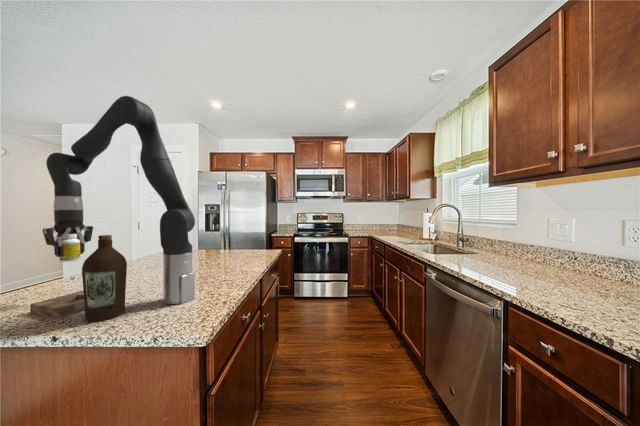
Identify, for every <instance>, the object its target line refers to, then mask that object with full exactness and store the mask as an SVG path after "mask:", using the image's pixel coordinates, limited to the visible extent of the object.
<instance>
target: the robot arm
mask: <svg viewBox="0 0 640 426" xmlns="http://www.w3.org/2000/svg"><path fill="white" fill-rule="evenodd" d="M126 124H127V125H130V126H132V127H134V128H135V129H136V132H137V134H138V136H139V138H140V142H141V151H140V155H139V161H140V165H141V168H142V171H143V173H144V175H145V177H146V179H147V181H148V183H149V184H150V185H151V187H152V188H153V190H154V192H156V193H157V194H158V196H159V197H160V198H161V200H162V201H163V203H164V206H165V208H166V211H165V212H163V213H162V215H161V217H160V221H159V235H160V236H159V238H160V247H161V248H162V250H163V251H162V253H163V263H162V264H163V266H162V269H163V270H162V271H163V276H162V277H163V280H162V281H163V283H162V285H163V303H164V304H166V305H176V304H178V305H179V304H184V303H186V302H188V301H192V300H193V299H195V298H196V289H195V288H196V283H195V282H196V281H195V280H196V274H195V272H193V245H192V244H191V242H190V240H189V232H191V231H192V230H193V229H194V227H195V224H196V220H195V218H196V217H195V216H194V213H193V211H192V210H191V208H190V206H189V204H188V202H187V200H186V199H185V196H184V194H183V191H182V188H181V186H180V183H179V180H178V178H177V176H176V172H175V169H174V167H173V164H172V162H171V158H170V157H169V156H168V152H167V149H166V146H165V144H164V143H163V140H162V137H161V134H160V130H159V127H158V122H157V119H156V116H155V113H154V111H153V109H152V108H151V107H150V106H149V105H148V104H146V103H144V102H143V101H140V100H139V99H136V98H135V97H133V96H131V95H130V96H129V95H123V96H120V97H118V98H117V99H116V100H114V102H113V103H112V104H111V106H109V108H108V109H107V110H106V111H105V113H104V114H103V115H102V116H101V117H100V118H99V120H98V121H97V122H96V124H95V125H94V126H92V128H91V129H90V130H89V131H88V132H86V133H85V134H84V135H82V137H80V138H79V139H78V140H76V141H75V142H74V143H73V144H72V145H71V146H70V150H71V152H72V153H73V154H74V155H72V154H66V153H62V152H53V153H50V155H48V156H47V157H46V168H47V171H48V173H49V175H50V178H51V180H52V183H53V188H54V189H53V191H54V192H53V193H54V199H53V217H54V219H53V221H54V225H53V226H52V227H48V228H47V227H44V228H43V229H42V234H43V237H44V241H45V244H46V245H47V246H53V247H54V248H53V250H54V254H53V255H54V256H56V257H57V258H60V257H62V256H63V246H62V244H63V242H64V240H66V238H67V236H68V234H77V239H78V240H80V255H84V252H85V251H86V250H85V248H86V246H85V245H86V243H88V242H91V241H92V238H93V237H92V235H93V232H94V231H93V230H94V226H93V225H85V224H84V202H83V197H82V196H83V194H82V193H83V191H82V189H83V188H82V184H81V182H79V181H77V180H74V179H73V178H71V176H70V175H73V176H78V175H82V174H83V173H85V172H87V171H88V169H89V168H90V166H91V164H92V163H93V161H94V160H95V159H96V158H97V157H98V156H100V155H101V154H103V152H105V151H106V150H107V149H108V147H109V146H110V145H111V142H112V138H113V136H114V133H115V132H116V131H117V130H118V129H119V128H121V127H123V126H124V125H126ZM82 231H83V233H82ZM54 233H57V234H56V236H55V237H54Z"/></svg>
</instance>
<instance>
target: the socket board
mask: <svg viewBox="0 0 640 426" xmlns="http://www.w3.org/2000/svg"><path fill="white" fill-rule="evenodd" d="M29 308H30V309H29V310H30V315H35V316H36V315H37V316H43V317H49V318H56V319H63V318H66V317H69V316H73V315H75V314H78V313H79V314H80V313H81V312H85V307H84V291H83V290H80V291H75V292H73V293H69V294H65V295H61V296H57V297H53V298H50V299H46V300H42V301H38V302H34V303H31V304H30V306H29Z"/></svg>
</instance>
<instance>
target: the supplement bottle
mask: <svg viewBox="0 0 640 426" xmlns="http://www.w3.org/2000/svg"><path fill="white" fill-rule="evenodd" d="M62 246H63V256H62V257H59V262H61V263H64V262H65V263H67V262H75V261H80V260H81V254H80V240H78V239H77V234H68V236H67V238H66V240H64V242H63V244H62Z"/></svg>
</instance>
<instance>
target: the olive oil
mask: <svg viewBox="0 0 640 426" xmlns="http://www.w3.org/2000/svg"><path fill="white" fill-rule="evenodd" d="M112 238H113V235H111V234H104V235H103V234H101V235H98V239H97V248H96V250H95V251H93V252H92V253H91V254H90V255H89V256H88V257H87V258H86V259H84V261H83V264H82V267H81V275H82V291H84V307H85V311H84V320H85V321H87V322H91V323H94V322H102V321H108V320H111V319H114V318H117V317H120V316H122V315H123V314H124V313H125V311H126V290H127V289H126V288H127V274H128V273H127V270H128V262H127V260H126V258H125V256H124V255H123V254H122V253H121V252H119V251H118V250H117V249H115V248H114V247H113V239H112Z"/></svg>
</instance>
